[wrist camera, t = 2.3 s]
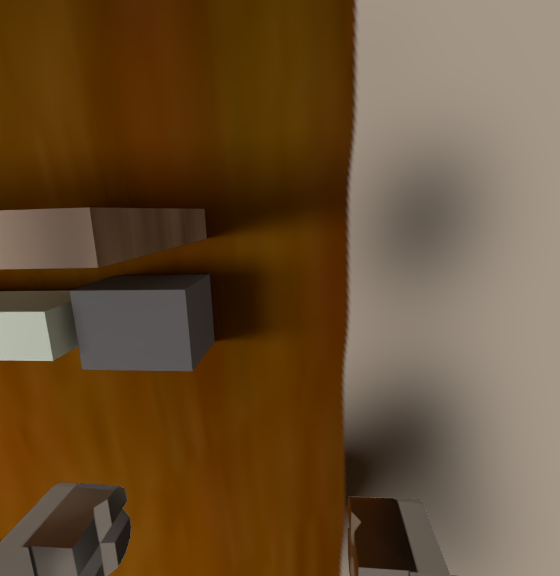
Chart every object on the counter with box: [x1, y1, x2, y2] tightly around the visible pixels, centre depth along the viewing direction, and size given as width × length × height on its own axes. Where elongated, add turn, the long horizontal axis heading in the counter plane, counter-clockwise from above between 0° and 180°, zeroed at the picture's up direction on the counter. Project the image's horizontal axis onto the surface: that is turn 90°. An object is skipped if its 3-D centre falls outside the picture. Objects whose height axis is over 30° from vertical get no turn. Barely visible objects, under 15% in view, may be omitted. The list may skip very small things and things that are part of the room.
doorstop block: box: [70, 274, 215, 371], centre depth 23 cm, size 7×5×5 cm
